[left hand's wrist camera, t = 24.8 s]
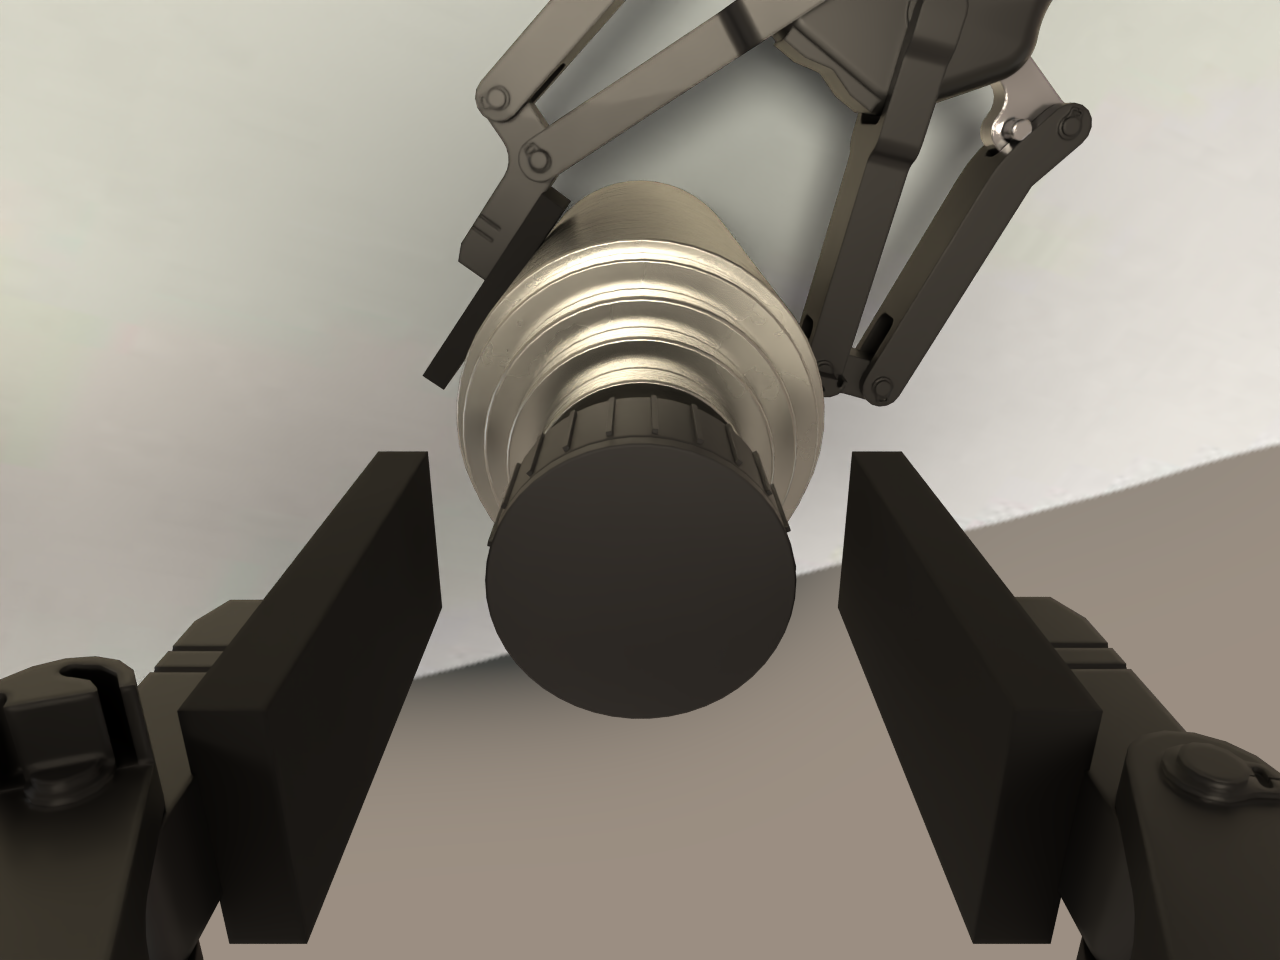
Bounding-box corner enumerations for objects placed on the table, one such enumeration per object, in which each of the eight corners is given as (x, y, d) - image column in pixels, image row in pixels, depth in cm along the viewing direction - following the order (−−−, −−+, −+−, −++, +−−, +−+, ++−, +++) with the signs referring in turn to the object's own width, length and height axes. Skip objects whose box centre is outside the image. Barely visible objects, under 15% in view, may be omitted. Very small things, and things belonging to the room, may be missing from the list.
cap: (539, 663, 16) (525, 745, 14) (471, 421, 14) (443, 473, 12) (795, 619, 15) (818, 696, 13) (755, 366, 14) (775, 409, 12)
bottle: (620, 422, 37) (593, 853, 15) (496, 266, 34) (261, 515, 13) (781, 308, 35) (1004, 612, 14) (662, 135, 33) (704, 173, 11)
